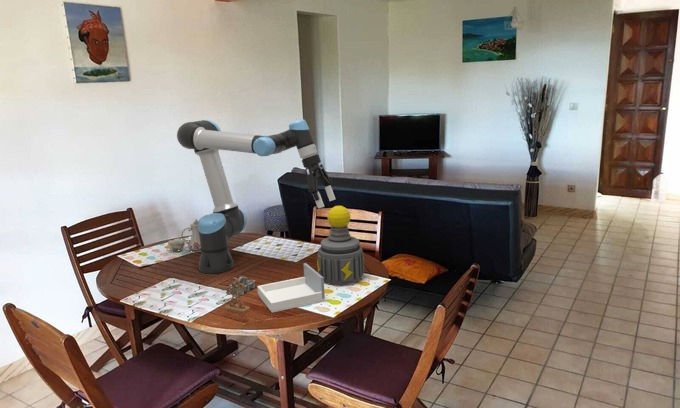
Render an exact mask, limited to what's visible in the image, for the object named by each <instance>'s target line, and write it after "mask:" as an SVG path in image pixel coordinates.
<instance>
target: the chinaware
mask: <svg viewBox="0 0 680 408" xmlns="http://www.w3.org/2000/svg"><path fill="white" fill-rule="evenodd" d="M198 222H199V220H198V219H197V218H195V219H194V221H193V222H192V223H190V224H189V226H190V227H186V228H184V229H182V231H181V233H180V237H181V238H178V237H177V238H174V239H173V240H172V239H169V240H168V241H167V245H166V247H165V248H166V250H167V251H169V252H170V251H171V252H172V251H173V252H175V251H178V250H182V249H183V248H184V247H185V245H187V249H188V250H189V251H190V252H191V251H192V252H201V246H200V237H199V230H198ZM185 231H188V232H191V236H190V239H186V238H184V237H183V235H184V234H183V233H184V232H185ZM168 247H170V250H169V249H168Z"/></svg>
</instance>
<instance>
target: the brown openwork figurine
mask: <svg viewBox="0 0 680 408" xmlns="http://www.w3.org/2000/svg"><path fill="white" fill-rule="evenodd" d="M233 279H234V280H233ZM234 282H235V283H238V284H236V285H235V284H234ZM239 284H240V283H239V280H238V278H237V277H231V279H230V285H232V286H230V285H229V287H233V289H235V292H236V293H234V290H232V291H230V290H229V287H228V286H227V287H228V288H227V287H226V293H227V295H228V296H230V295H231V299H230V301H229V303H228V304H226V306H224V307H223V308H224V310H225V311H229V312H230V311H231V312H234V313H239V314H245V313H246V314H247V312H248V311H250V310H251V307H250V306H247V305H245V303H244V301H243V300H242V298H241V295H240V293H241V292H243V291H244V289H245V286H246V285H245V286H244V284H240V285H239ZM237 285H238V286H239V287H238V286H237ZM241 285H242V286H241ZM236 286H237V287H236ZM238 288H242V289H243V290H242V291H241V292H240V291H239V292H238V295H237V290H238ZM234 298H236V299H235V300H234V302H233V299H234ZM239 301H240V302H239Z"/></svg>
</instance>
